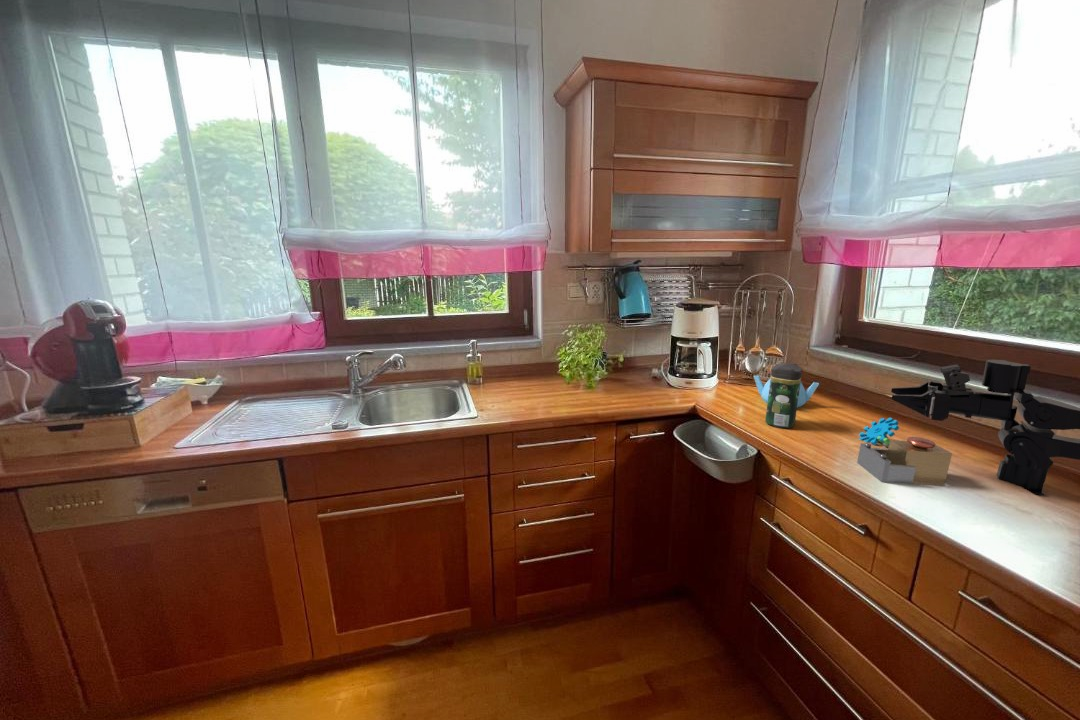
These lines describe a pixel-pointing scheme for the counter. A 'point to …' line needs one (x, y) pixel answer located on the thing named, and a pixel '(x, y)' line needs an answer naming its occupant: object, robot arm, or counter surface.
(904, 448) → the tan box
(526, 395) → the counter surface
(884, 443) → the gear
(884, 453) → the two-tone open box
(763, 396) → the teapot
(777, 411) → the coffee jar
